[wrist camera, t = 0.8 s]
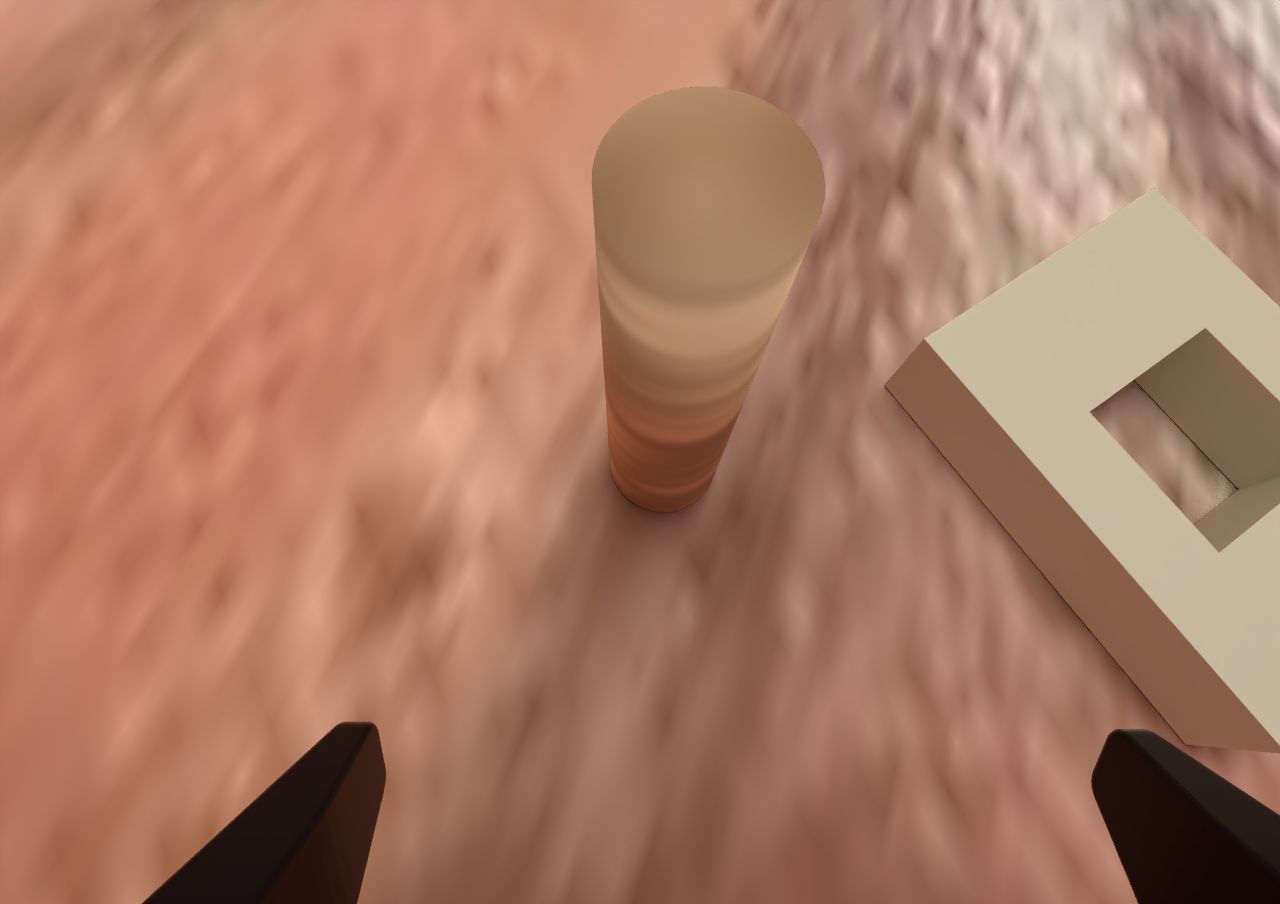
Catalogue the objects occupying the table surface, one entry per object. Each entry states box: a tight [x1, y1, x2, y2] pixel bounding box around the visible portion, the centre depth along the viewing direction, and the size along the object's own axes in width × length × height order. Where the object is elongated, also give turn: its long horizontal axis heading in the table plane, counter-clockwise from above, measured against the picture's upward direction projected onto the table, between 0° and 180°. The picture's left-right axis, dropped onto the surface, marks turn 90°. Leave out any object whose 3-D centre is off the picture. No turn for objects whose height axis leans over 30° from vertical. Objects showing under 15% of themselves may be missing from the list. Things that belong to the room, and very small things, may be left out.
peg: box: [592, 87, 825, 512], centre depth 17 cm, size 4×4×14 cm
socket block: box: [885, 188, 1280, 753], centre depth 23 cm, size 14×10×4 cm
